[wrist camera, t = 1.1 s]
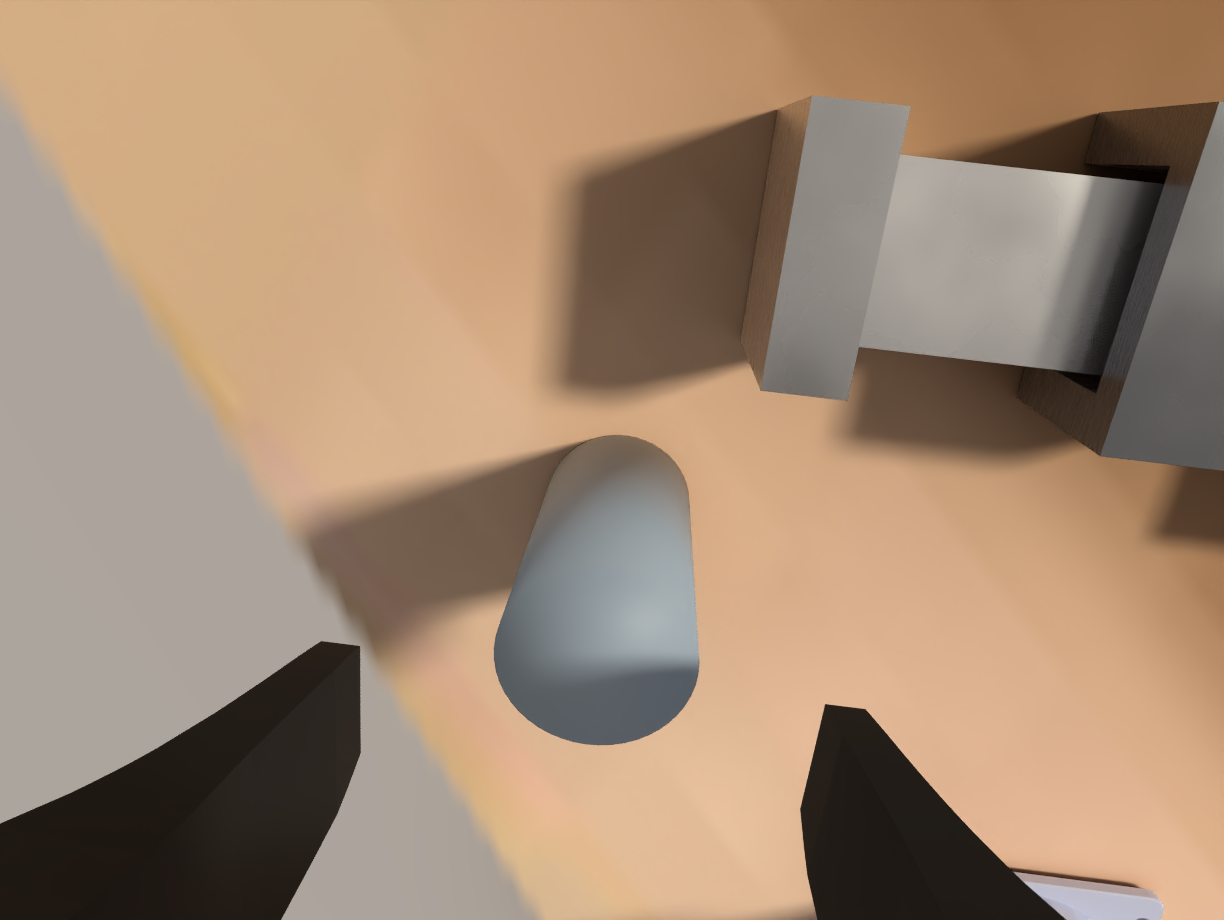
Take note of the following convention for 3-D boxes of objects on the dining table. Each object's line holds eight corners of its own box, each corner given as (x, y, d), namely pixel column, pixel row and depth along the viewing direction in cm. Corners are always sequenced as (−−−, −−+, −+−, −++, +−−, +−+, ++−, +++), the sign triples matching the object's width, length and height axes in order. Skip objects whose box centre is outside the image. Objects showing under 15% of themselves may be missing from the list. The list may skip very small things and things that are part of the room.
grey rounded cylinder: (679, 573, 22) (684, 756, 15) (543, 556, 22) (488, 731, 15) (698, 444, 20) (714, 583, 14) (553, 427, 20) (499, 556, 14)
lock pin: (1240, 398, 19) (1398, 466, 15) (740, 339, 19) (760, 390, 15) (1329, 169, 17) (1537, 174, 13) (778, 109, 18) (811, 95, 13)
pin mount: (1187, 417, 19) (1313, 481, 16) (1016, 397, 19) (1099, 456, 16) (1293, 134, 17) (1468, 128, 13) (1099, 112, 17) (1219, 101, 13)
